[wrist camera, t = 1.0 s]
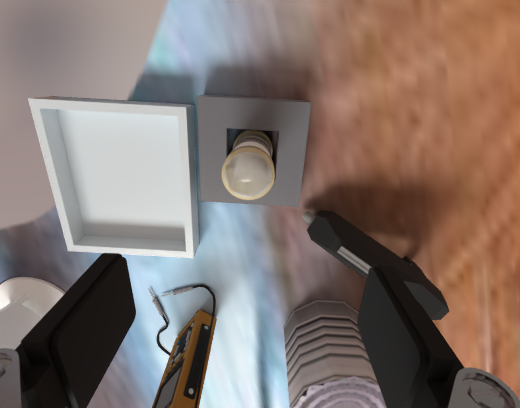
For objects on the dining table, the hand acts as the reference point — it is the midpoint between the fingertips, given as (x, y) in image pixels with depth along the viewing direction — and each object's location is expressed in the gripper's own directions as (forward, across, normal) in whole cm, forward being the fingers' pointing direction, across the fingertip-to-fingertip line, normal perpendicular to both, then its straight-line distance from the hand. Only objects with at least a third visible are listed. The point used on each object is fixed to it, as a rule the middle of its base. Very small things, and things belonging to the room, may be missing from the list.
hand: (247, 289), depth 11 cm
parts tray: (+21, +14, +3) cm, 25 cm away
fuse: (+21, +1, -1) cm, 21 cm away
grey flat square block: (+21, +1, -1) cm, 21 cm away
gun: (+21, -12, +9) cm, 26 cm away
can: (+21, -10, +24) cm, 34 cm away
